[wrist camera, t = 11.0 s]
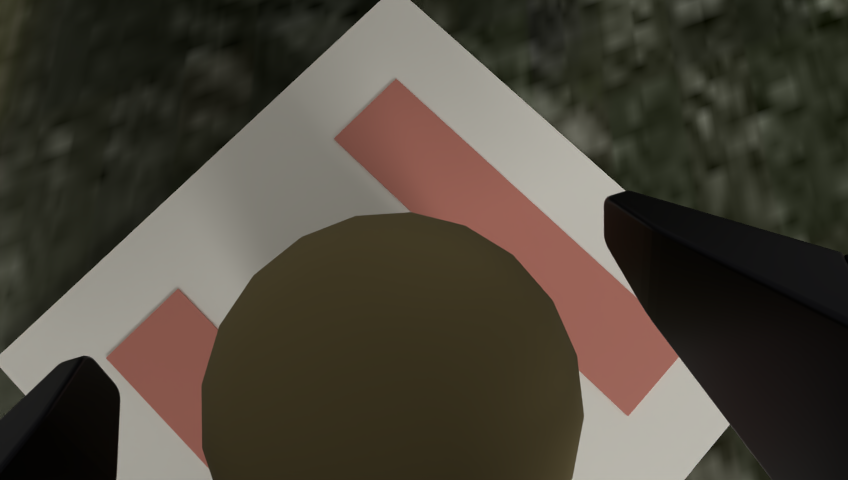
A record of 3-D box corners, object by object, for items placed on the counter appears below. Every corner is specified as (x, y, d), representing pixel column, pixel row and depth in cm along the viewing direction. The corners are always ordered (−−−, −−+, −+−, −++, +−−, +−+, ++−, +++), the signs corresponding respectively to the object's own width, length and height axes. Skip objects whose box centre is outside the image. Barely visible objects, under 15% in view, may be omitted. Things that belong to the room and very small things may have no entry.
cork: (264, 365, 17) (-5, 445, 6) (392, 221, 17) (369, 54, 7) (411, 499, 16) (419, 858, 5) (536, 344, 17) (764, 382, 6)
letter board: (406, 799, 16) (406, 821, 15) (8, 359, 17) (-9, 360, 17) (783, 342, 18) (798, 343, 17) (395, -3, 20) (394, -15, 19)
